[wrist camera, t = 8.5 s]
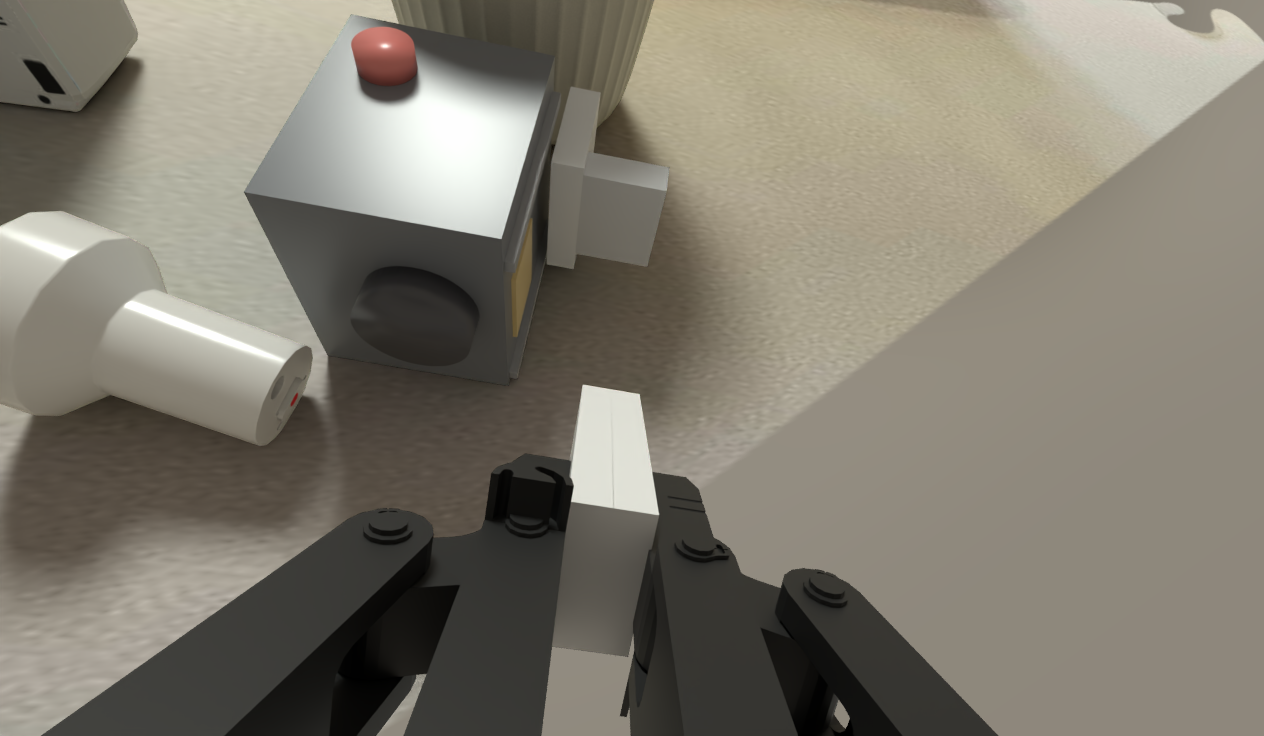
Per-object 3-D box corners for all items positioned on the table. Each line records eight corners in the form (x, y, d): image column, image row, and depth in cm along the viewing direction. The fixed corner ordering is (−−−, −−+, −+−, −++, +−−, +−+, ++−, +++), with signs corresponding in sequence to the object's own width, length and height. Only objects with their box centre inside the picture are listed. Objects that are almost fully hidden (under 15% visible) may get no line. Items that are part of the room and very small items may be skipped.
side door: (546, 264, 35) (551, 162, 29) (563, 193, 38) (570, 86, 32) (643, 281, 35) (668, 184, 29) (652, 210, 38) (677, 107, 32)
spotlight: (114, 257, 31) (14, 164, 24) (344, 344, 33) (317, 284, 26) (10, 407, 28) (-141, 355, 21) (267, 493, 30) (213, 473, 23)
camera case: (315, 383, 31) (210, 204, 21) (395, 197, 37) (345, -9, 27) (509, 415, 31) (501, 257, 21) (554, 227, 38) (565, 36, 28)
